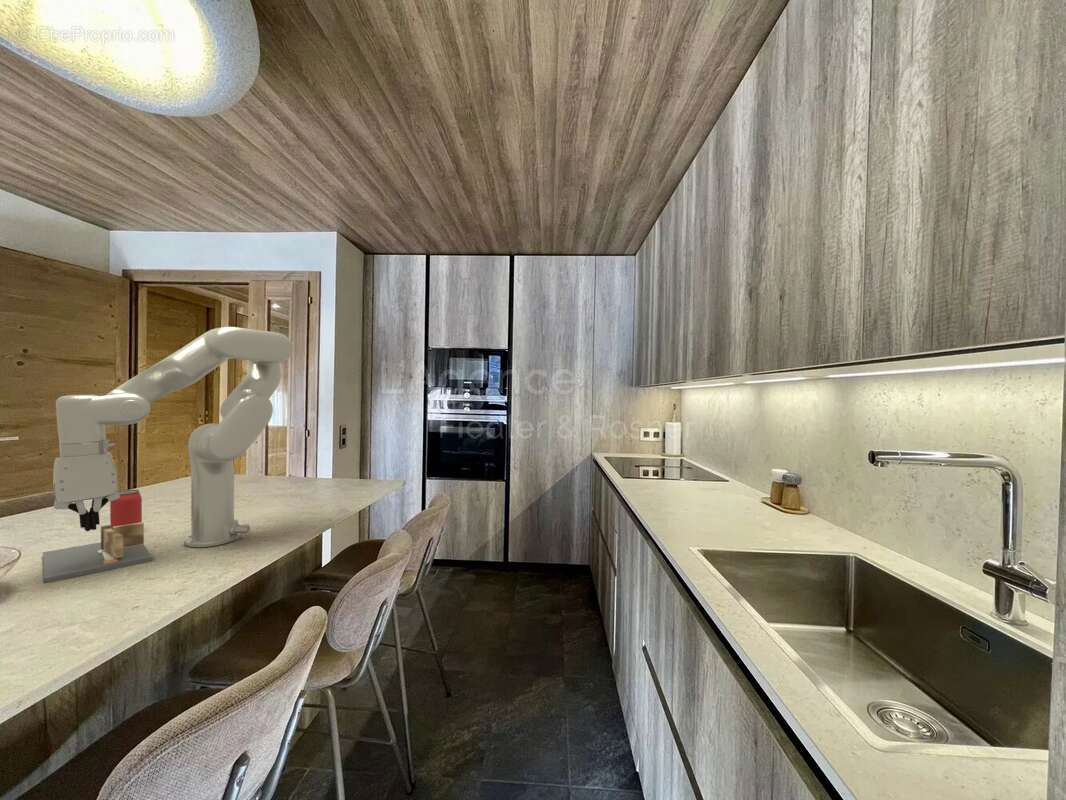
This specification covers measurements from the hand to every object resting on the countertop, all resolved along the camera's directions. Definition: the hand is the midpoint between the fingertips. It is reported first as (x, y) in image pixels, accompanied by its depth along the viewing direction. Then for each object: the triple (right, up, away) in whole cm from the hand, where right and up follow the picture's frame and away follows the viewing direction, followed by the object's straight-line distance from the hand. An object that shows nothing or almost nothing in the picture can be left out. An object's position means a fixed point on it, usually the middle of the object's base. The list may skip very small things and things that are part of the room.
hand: (90, 529), depth 103 cm
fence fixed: (-1, -8, +11) cm, 14 cm away
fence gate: (0, -7, +5) cm, 9 cm away
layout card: (-4, -9, +5) cm, 11 cm away
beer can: (-13, -8, +24) cm, 28 cm away
